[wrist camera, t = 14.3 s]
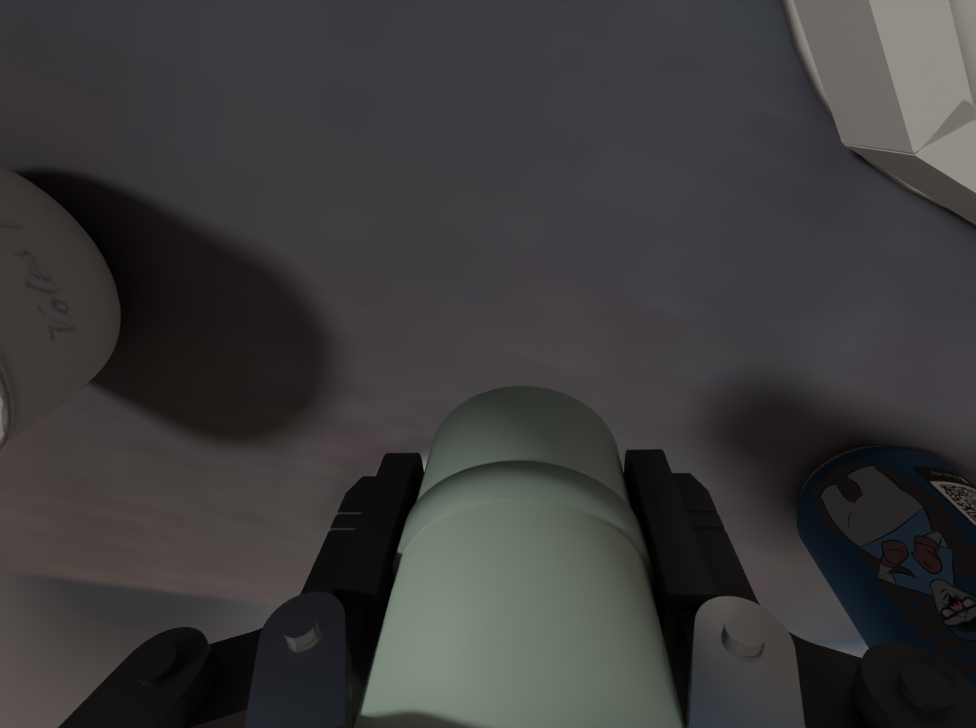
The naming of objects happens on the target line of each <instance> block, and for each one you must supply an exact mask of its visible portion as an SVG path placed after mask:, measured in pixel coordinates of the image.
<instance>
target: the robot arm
mask: <svg viewBox="0 0 976 728" xmlns="http://www.w3.org/2000/svg"><path fill="white" fill-rule="evenodd" d="M423 475H424V470H423V464H422V459H421V456H420V454H419V453H387V454H385V456H384V458H383V460H382V462H381V465H380V468H379V470H378V473H377V475H376V476H365V477H362V478H361V479H360V480H359V481H358V482H357V483H356V484H355V485H354V486H353V487H352V488H351V489H350V490H349V491H348V492H347V493H346V494H345V497H344V499H343V501H342V503H341V505H340V508H339V510H338V515H336V517H335V519H334V521H333V523H332V525H331V531H329V532H328V534H327V537H326V539H325V541H324V543H323V545H322V548H321V550H320V552H319V554H318V557H317V559H316V561H315V563H314V565H313V568H312V570H311V572H310V574H309V577H308V579H307V581H306V583H305V585H304V588H303V590H302V592H301V594H300V595H298V596H296V597H294V598H292V599H290V600H288V601H287V602H285V603H284V604H282V605H281V606H280V607H279V608H277V609H276V610H275V611H274V612H273V614H272V615H271V616H270V617H269V618H268V620H267V621H266V623H265V624H264V626H263V628H261V629H259V630H256V631H253V632H250V633H246V634H243V635H240V636H236V637H233V638H229V639H226V640H222V641H219V642H215V643H212V644H209V643H208V641H207V639H206V638H205V636H204V634H203V633H202V632H201V631H199V630H197V629H195V628H190V627H180V628H174V629H170V630H167V631H165V632H162V633H160V634H158V635H156V636H154V637H152V638H150V639H149V640H147V641H146V642H144V643H143V644H142V645H140V646H139V647H138V648H137V649H135V650H134V651H133V652H132V653H131V654H130V655H129V656H128V657H127V658H126V659H125V660H124V661H123V662H122V663H121V664H120V665H119V666H118V667H117V668H116V669H115V670H114V671H113V672H112V673H111V674H110V675H109V676H108V677H107V678H106V679H105V680H104V681H103V682H102V683H101V684H100V685H99V686H98V687H97V689H96V690H95V691H94V692H93V693H92V694H91V695H90V696H89V697H88V698H87V699H86V700H85V701H84V702H83V703H82V704H81V705H80V706H79V707H78V708H77V709H76V710H75V711H74V712H73V713H72V714H71V715H70V716H69V717H68V718H67V719H66V720H65V721H64V722H63V723H62V724H61V725H60V726H59V727H58V728H354V725H355V722H356V718H357V714H358V711H359V707H360V703H361V700H362V696H363V693H364V689H365V685H366V682H367V678H368V674H369V671H370V667H371V664H372V660H373V656H374V653H375V649H376V646H377V642H378V638H379V635H380V631H381V627H382V624H383V620H384V617H385V613H386V609H387V606H388V602H389V598H390V595H391V591H392V588H393V584H394V580H395V579H394V575H393V571H392V567H393V563H394V559H395V555H396V551H397V548H398V545H399V541H400V538H401V534H402V531H403V527H404V524H405V521H406V519H407V517H408V514H409V512H410V510H411V509H412V507H413V506H414V505H415V503H416V501H417V497H418V493H419V490H420V486H421V483H422V479H423ZM624 478H625V482H626V486H627V490H628V494H629V498H630V502H631V506H632V510H633V512H634V514H635V515H636V517H637V519H638V520H639V522H640V525H641V527H642V530H643V532H644V536H645V539H646V543H647V547H648V551H649V555H650V559H651V563H652V567H653V571H654V573H653V582H652V593H653V597H654V601H655V605H656V609H657V613H658V617H659V621H660V625H661V629H662V634H663V638H664V642H665V646H666V650H667V654H668V658H669V662H670V666H671V670H672V675H673V679H674V683H675V687H676V691H677V695H678V699H679V703H680V707H681V711H682V716H683V720H684V724H685V728H976V688H975V687H974V686H973V685H972V684H971V683H970V682H969V681H968V680H967V679H966V678H965V677H964V676H963V675H961V674H960V673H959V672H958V671H957V670H956V669H954V668H953V667H952V666H950V665H949V664H947V663H946V662H944V661H943V660H941V659H939V658H938V657H936V656H934V655H932V654H930V653H928V652H926V651H924V650H921V649H919V648H916V647H913V646H910V645H906V644H900V643H881V644H877V645H875V646H872V647H871V648H870V649H868V650H867V651H866V653H865V654H864V656H863V658H859V657H856V656H853V655H850V654H846V653H843V652H840V651H836V650H833V649H830V648H826V647H823V646H820V645H816V644H813V643H811V642H808V641H805V640H803V639H801V638H799V637H797V636H795V635H793V634H792V633H790V632H788V631H787V629H786V627H785V626H784V625H783V624H782V623H781V621H780V620H779V619H778V618H777V617H775V616H774V615H773V614H772V613H771V612H769V611H768V610H767V609H765V608H764V607H762V606H760V604H759V603H758V601H757V599H756V597H755V595H754V593H753V590H752V588H751V586H750V584H749V581H748V579H747V577H746V575H745V573H744V570H743V568H742V566H741V564H740V561H739V559H738V557H737V555H736V552H735V550H734V548H733V546H732V543H731V541H730V539H729V537H728V534H727V532H725V530H724V526H723V523H722V521H721V519H720V517H719V515H717V510H716V508H715V505H714V503H713V501H712V499H711V496H710V494H709V492H708V490H707V489H706V488H705V487H704V486H703V485H702V484H701V483H700V482H698V481H697V480H696V479H695V478H694V477H693V476H692V475H691V474H690V473H672V472H671V470H670V467H669V464H668V462H667V459H666V456H665V454H664V452H663V450H661V449H651V450H627V451H626V453H625V464H624Z"/></svg>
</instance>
